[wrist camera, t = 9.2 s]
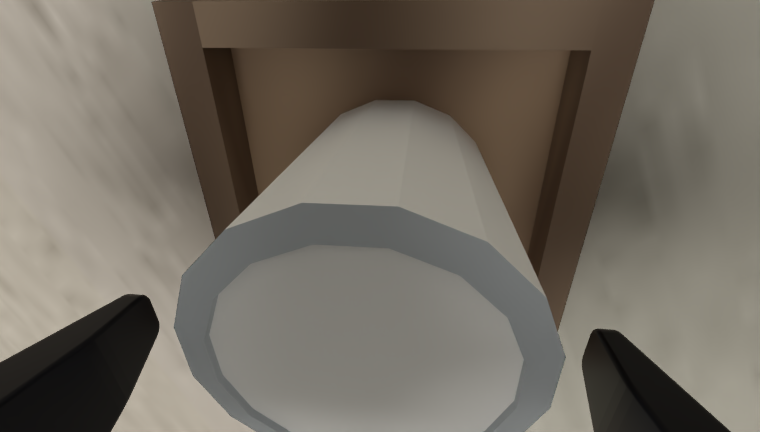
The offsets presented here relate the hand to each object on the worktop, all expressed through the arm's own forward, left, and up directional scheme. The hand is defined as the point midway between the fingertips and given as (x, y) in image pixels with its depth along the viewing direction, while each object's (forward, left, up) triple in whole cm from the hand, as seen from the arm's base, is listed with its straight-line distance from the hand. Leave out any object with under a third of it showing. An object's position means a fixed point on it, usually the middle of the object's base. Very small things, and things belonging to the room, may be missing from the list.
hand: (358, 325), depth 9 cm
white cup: (0, 0, -6) cm, 6 cm away
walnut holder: (0, 0, -7) cm, 7 cm away
